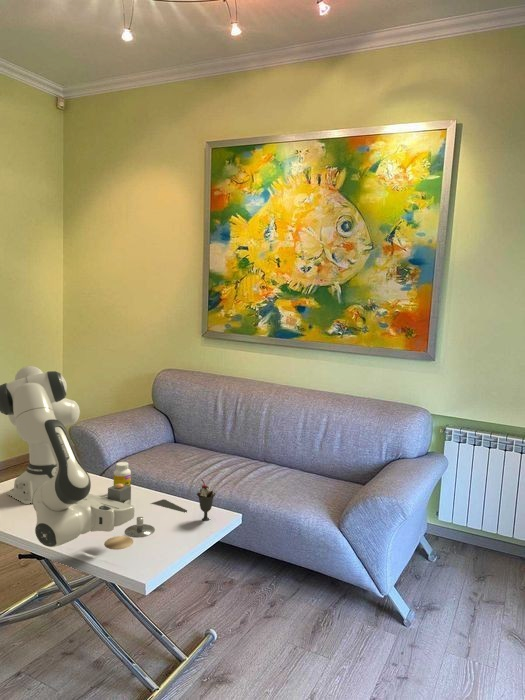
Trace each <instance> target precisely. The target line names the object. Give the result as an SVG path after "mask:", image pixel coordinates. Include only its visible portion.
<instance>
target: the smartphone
mask: <svg viewBox="0 0 525 700" xmlns="http://www.w3.org/2000/svg"><path fill="white" fill-rule="evenodd" d="M150 505H155V506H159V507H162V508H166V509H170V510H174V511H178V512H180V513H185V512H186V513H188V512H187V511H188V509H186V508H183V507H182V506H179V505H177V504H175V503H173V502H171V501H169V500H167V499H160V500H158V501H157V500H156V501H153V502H151V503H150Z"/></svg>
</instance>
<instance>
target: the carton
mask: <svg viewBox="0 0 525 700" xmlns="http://www.w3.org/2000/svg"><path fill="white" fill-rule="evenodd" d="M107 496H108V499H110V500H114V501H118V502H121V503H124V500H126V499H128V500H131V501H132V486H127V485H123V484H116V485H114V484H113V485H112V486H110V487H107Z"/></svg>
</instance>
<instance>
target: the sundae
mask: <svg viewBox="0 0 525 700" xmlns="http://www.w3.org/2000/svg"><path fill="white" fill-rule="evenodd" d="M201 482H202V483H203V485H202V486H201V489H200V490H199V492H197V493H196V496H197V497H198V500H199V507H200V510H201V512H203V517H202V518H201V521H202V522H210V520H211V519H209V518H210V517H209V516H208V513H209V512H210V511H211V510H212V507H213V501H214V497H215V496H216V492H214V491H213V490H212V489H211V488H210V486H207V485H206V484H205V481H204V480H203V479H201Z"/></svg>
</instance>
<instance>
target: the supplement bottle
mask: <svg viewBox="0 0 525 700" xmlns="http://www.w3.org/2000/svg"><path fill="white" fill-rule="evenodd" d="M115 467H116V469H115V470H114V471H113V486H114V485H116V484H123V485H127V486H131V481H132V476H131V475H132V474H131V473H132V472H131V469H130V468H129V462H127V461H120V462H117V463H116V464H115ZM131 487H132V486H131Z"/></svg>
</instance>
